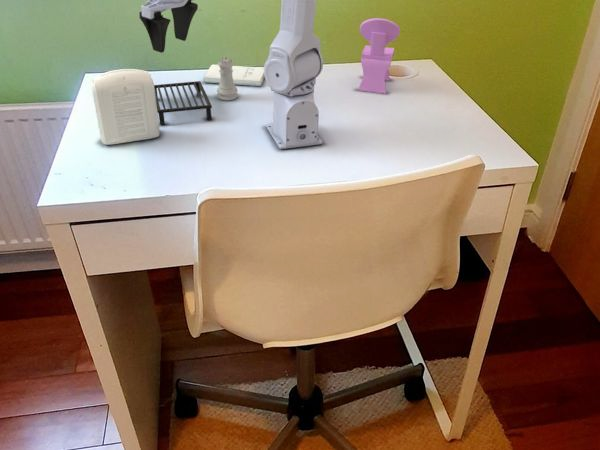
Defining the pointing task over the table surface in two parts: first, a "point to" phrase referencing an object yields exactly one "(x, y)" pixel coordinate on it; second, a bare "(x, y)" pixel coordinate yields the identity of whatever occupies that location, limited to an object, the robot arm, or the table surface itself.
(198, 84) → the rack
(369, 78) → the toy chair
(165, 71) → the table surface
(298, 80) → the robot arm
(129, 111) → the photo printer
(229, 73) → the rook chess piece
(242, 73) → the hard drive
